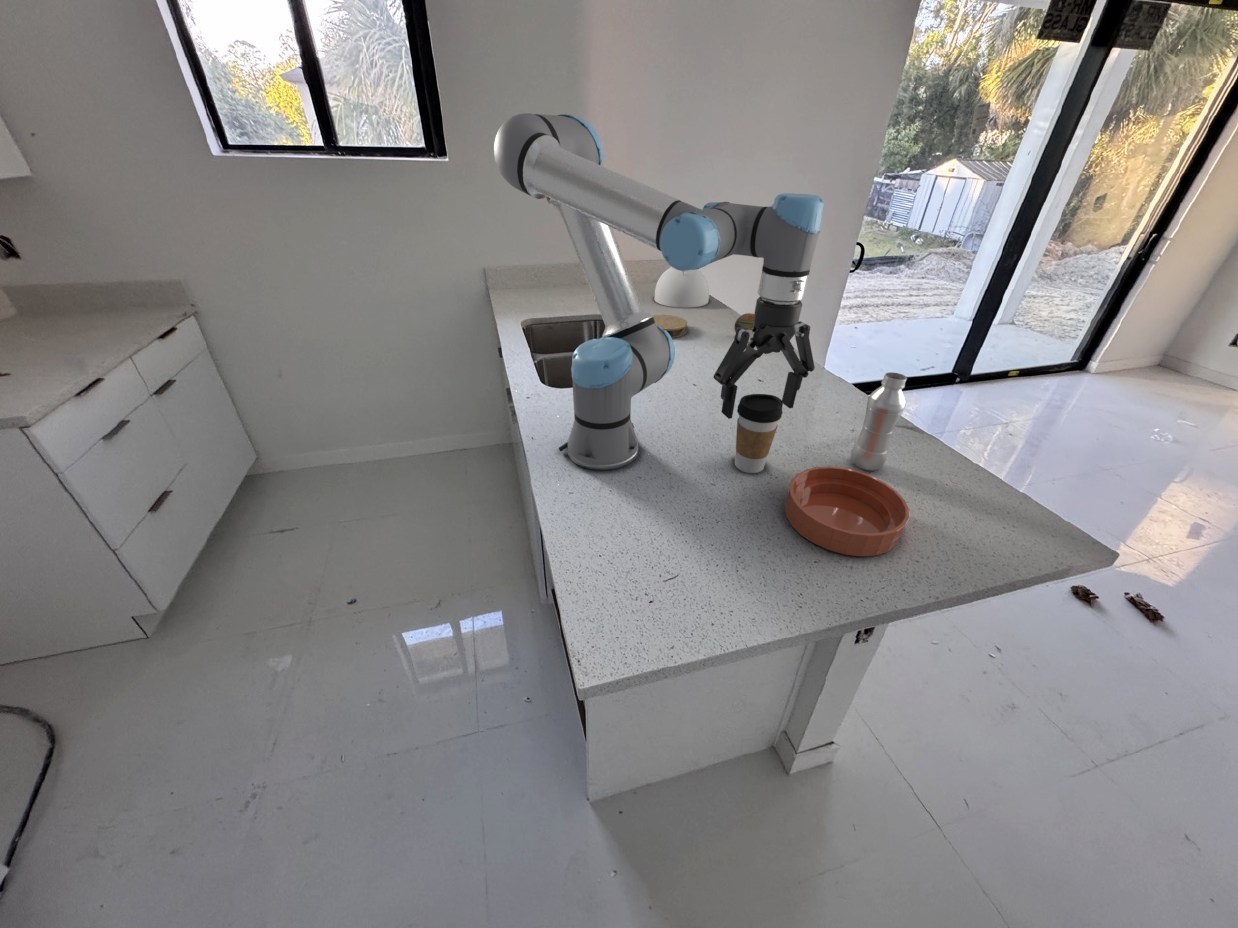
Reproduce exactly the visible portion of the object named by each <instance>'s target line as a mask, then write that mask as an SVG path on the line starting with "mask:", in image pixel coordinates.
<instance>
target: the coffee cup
mask: <svg viewBox="0 0 1238 928" xmlns="http://www.w3.org/2000/svg"><path fill="white" fill-rule="evenodd" d="M783 405H784V404H783V401H782V398H780V397H779V396H777V395H773V394H767V393H751V394H746V395H744V396H742V397H741V398H740V400H739V403H738V405H737V410H736V411H737V414H738V418H737V421H736V437H735V438H736V439H735V457H734V465H735V467H736V468H737V469H738V470H739V471H741V472H743V473H747V474H757V473H760V472H762V471H763V470H764V469H765V466H766V463H767V459H768V457H769V456H768V455H769V453H770V450H771V448H772V444H773V441H774V438H775V435H776V432H777V429H778V423H779V420H780V419H781V418H782V416H783Z"/></svg>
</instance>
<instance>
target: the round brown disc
mask: <svg viewBox="0 0 1238 928" xmlns="http://www.w3.org/2000/svg"><path fill="white" fill-rule="evenodd" d="M652 316H653V318H654V321H655V323H656V325H657V326H660V327H662V329H663V330H666V331H667V332H668V333H669V335H670V336H671V338H672V339H673V338H678V337H681V336H684V335H685V334H686V333H687V330H688V329H687V328H688V321H687V320H686V319H684V318H683V317H680V316H677V315H670V314H669V315H668V314H655V315H652Z"/></svg>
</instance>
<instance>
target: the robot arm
mask: <svg viewBox="0 0 1238 928" xmlns="http://www.w3.org/2000/svg"><path fill="white" fill-rule="evenodd" d="M493 144H494V145H493V155H494V160H495V164H496V167H497V169H498V171H499V173H500V176H502V178H504V180H505V181H506V183H508V184H509V185H510V186H511V187H513V188H514V189H516V190H518V191H519V192H522V193H523V194H526V195H528V196H530V197H532V198H534V199H537V200H543V199H546V201H547V204H548V205H549V207H551V208H552V209H555V210H556V211H559V212H560V215H561V218H562V221H563V223H564V225H565V228H566V230H567V233H568V236H569V238H570V240H571V244H572V245H573V248H574V249H575V250H574V251H575V253H576V255H577V259H578V260H579V261H578V262H579V263H580V265H581V268H582V270H583V273H584V276H585V279H586V280H587V283H588V286H589V288H590V291H591V294H592V296H593V298H594V301H595V304H596V306H597V309H598V311H599V313H600V315H601V318H602V322H603V324H604V331H603V332H602V335H601V337H599V338H592V339H589V340H587V341H585V342H583V343H581V344H579V345H578V347H576V349H575V350H574V352H573V354H572V357H571V368H570V374H571V381H572V398H573V412H574V413H573V415H574V420H573V424H572V426H571V427H572V428H571V430H570V433H569V437H568V440H567V442H565V443H564V444H562V445H561V446H559V447H558V450H559V452H562V451H564V450H565V449H567V455H568V458H569V459H570V460H571V461H572V462H573V463H574V464H575V465H578V466H579V467H581V468H585V469H588V470H592V471H612V470H617V469H620V468H623V467H626V466H628V465H629V464H631V463H632V462H634V461H635V460H636V458H637V457H638V455H639V439H638V437H637V434H636V431H635V426H634V423H633V422H632V419H631V413H632V398H633V397H634V396H636V395H637V394H639V393H640V392H642V391H643V390H645V389H646V388H648V387H649V386H652V385H654V384H656V383H658V382H659V381H661V380H662V379H663V378H664V377H665V376H666V375H667V374H669V372H670V370H671V369H672V367H673V365H674V362H675V358H676V348H675V342H674V340H673V338H671V336H670V335H669V333H668V332H667V331H666V330H663V329H662V327H660V326H657V325H656V323H655V321H654V318H653V316H654V315H653V314H651V313H649V312H647V311H645V310H644V309H643V307H642V305H641V301H640V299H639V296H638V293H637V290H636V288H635V285H634V283H633V280H632V277H631V275H630V271H629V269H628V267H627V264H626V261H625V258H624V256H623V253H622V250H621V248H620V244H619V242H618V239H617V237H616V234H615V232H614V230H615V231H618V232H620V233H622V234H624V235H626V236H628V237H630V238H632V239H634V240H636V241H638V242H641V243H643V244H645V245H647V246H649V247H651V248H653V249H655V250H657V251H658V252H659V251H660V252H661V254H662V257H663V258H664V260H665V261H666V262H667V264H668V265H669V267H670V268H671V267H673V268H675V269H677V270H681V271H688V270H696V269H699V270H700V269H701V268H705V267H706V266H708V265H710V264H713V263H715V262H717V261H719V260H720V261H721V260H723V259H726V258H728V257H731V256H733V255H735V256H736V255H738V256H743V257H744V256H746V257H752V258H753V257H754V258H757V259H758V258H761V259H763V262H762V263H763V264H762V267H761V273H760V279H759V285H758V288H757V289H758V290H757V295H758V296H759V297H758V298H757V299H756V301H755V302H756V303H755V308H754V313H753V314H754V327H753V328H752V330H743V329H742V328H738V329H737V331H736V332H735V334H734V339H733V341H732V343H731V345H730V346H729V348H728V350H727V352H726V353H725V355H724V357H723V358H722V361H721V362H720V363H719V366H718V368H717V369H716V371H714V372H715V373H714V374H713V379H714V380H715V381H716V382H717V383H718V384H719V385H721V390H720V399H721V400H722V405H721V414H722V415H724V416H725V417H726V418H727V419H729V420H730V419H733V416H734V409H735V404H736V397H737V391H738V386H737V385H736V383H737V382H738V380H739V379H740V378H741V377H742V376H743V375H744V373H746V372H747V370H748V369H749V368H750V366H751V365H752V364H753V363H754V362H755V361H756V360H757V359H760V358H761V357H762V356H763V355H768V354H771V353H776V354H777V353H780V352H781V353H782V355H783V357H784V358H785V360H786V361H787V363H788V364H789V367H790V368H791V370H792V371H788V372H787V377H786V381H785V386H784V390H783V394H782V397H781V400H782V401H783V405H784V406H785V407H787V408H789V409H793V408H794V406H795V401H796V397H797V393H798V391H800V389H801V386H802V381H803V378H804V379H805V378H807V377H809V372H812V373H813V371H815V368H816V367H815V362H814V357H813V351H812V347H811V341H810V332H811V326H810V325H809V324H807V323H805V322H803V321H800V317H801V312H802V307H803V303H802V300H803V299H804V298H805V294H806V290H807V286H808V281H809V278H810V273H811V272H810V271H811V266H812V264H813V258H814V255H815V250H816V247H817V244H818V243H817V242H818V239H819V234H820V233H821V223H822V219H823V218H822V217H823V213H824V206H825V202H824V200H823V198H822V197H820V196H819V195H816V194H809V193H793V192H791V193H790V192H789V193H788V192H787V193H779V194H777V195H776V196H775V198H774V200H773V204H771V205H770V206H759V205H751V204H743V203H742V204H741V203H734V202H733V203H732V202H729V201H717V202H716V201H710V202H707V203H705V204H704V205H703V207H702V208H699V207H696V206H695V205H692V204H689V203H688V202H684V201H682V200H681V199H678V198H676V197H674V196H672V195H669V194H668V193H665V192H662V191H660V190H658V189H655V188H654V187H651V186H649V185H646V184H644V183H643V182H640V181H637V180H635V179H632V178H631V177H628V176H626V175H623V174H621V173H619V172H617V171H614V170H613V169H610V168H607V167H605V166H603V160H604V148H603V144H602V141H601V139H600V135H599V134H598V133H597V131H596V130H595V128H594V127H593V126H592V125H591V124H590V123H589V122H588V121H586V120H585V119H583V118H581V117H577V116H573V115H571V114H567V113H565V114H562V113H561V114H556V115H555V114H539V113H526V112H525V113H518V114H515V115H512V116H510V117H509V118H507V119H506V120H505V121H504V122H503V123H502V124H501V126H500V127H499V129H498V130H497V133H496V135H495V138H494V143H493ZM793 337H794V339H795V342H796V347H797V352H798V355H797V352H796V350H795V347H794V345H793V344H792V342H791V340H792V339H793ZM751 338H752V340H750V339H751ZM755 348H756V349H755Z"/></svg>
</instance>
